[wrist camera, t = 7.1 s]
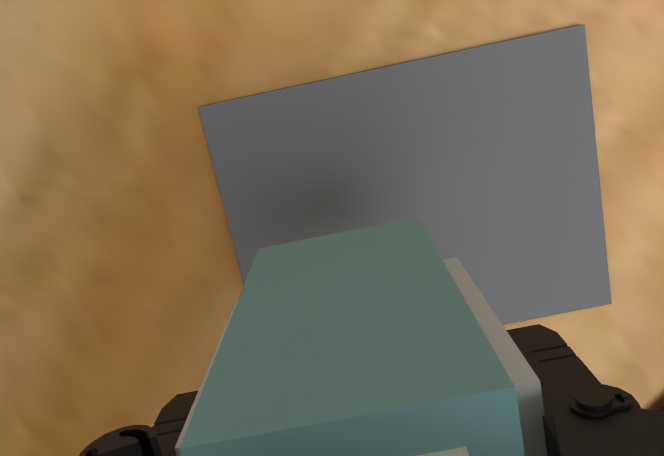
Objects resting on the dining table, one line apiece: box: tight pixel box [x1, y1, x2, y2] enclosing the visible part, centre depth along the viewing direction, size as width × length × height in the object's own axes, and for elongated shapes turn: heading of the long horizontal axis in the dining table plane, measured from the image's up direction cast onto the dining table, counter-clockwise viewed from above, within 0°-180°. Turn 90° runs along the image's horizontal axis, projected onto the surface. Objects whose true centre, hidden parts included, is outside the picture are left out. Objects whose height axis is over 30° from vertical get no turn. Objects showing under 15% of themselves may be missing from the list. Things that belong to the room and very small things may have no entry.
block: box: [179, 217, 525, 456], centre depth 13 cm, size 4×4×9 cm
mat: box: [198, 24, 612, 325], centre depth 28 cm, size 17×13×1 cm
